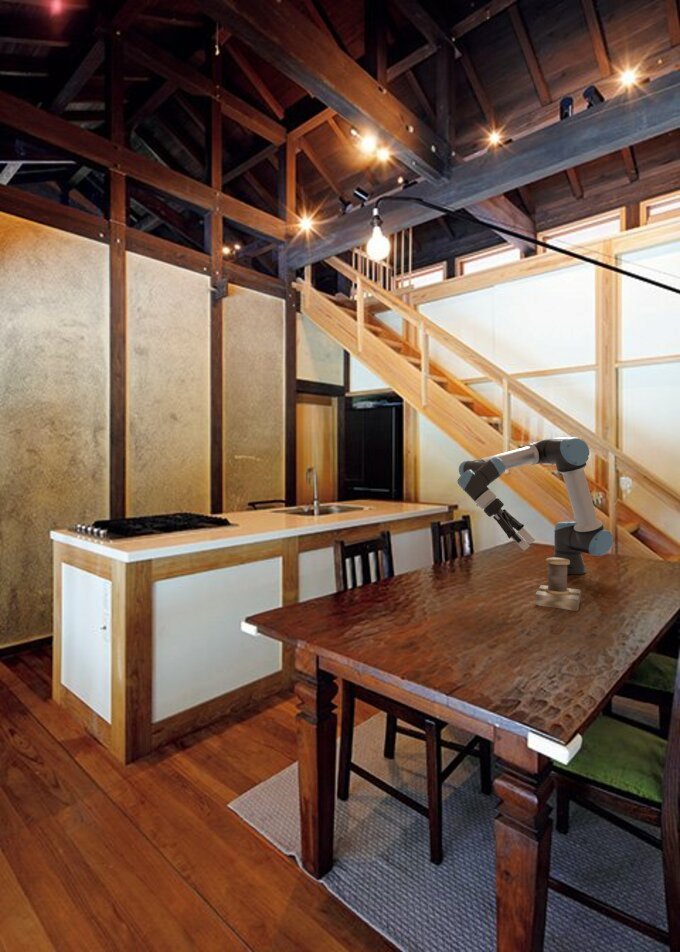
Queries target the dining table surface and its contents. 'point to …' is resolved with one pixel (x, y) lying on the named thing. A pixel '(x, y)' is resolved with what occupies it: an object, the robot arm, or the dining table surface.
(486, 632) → the dining table surface
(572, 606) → the slotted stand
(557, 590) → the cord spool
